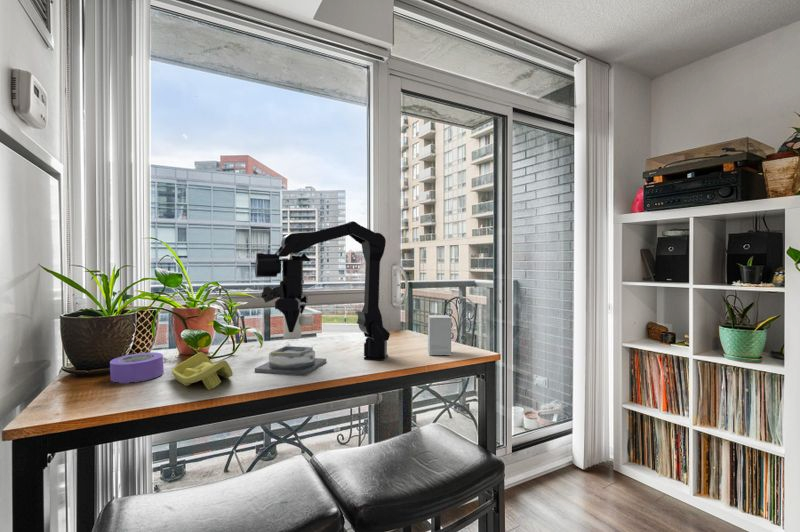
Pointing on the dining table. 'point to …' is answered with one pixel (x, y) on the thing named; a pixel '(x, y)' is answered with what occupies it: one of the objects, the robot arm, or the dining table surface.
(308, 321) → the elbow fitting
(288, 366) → the duct stub
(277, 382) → the dining table surface
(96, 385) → the dining table surface
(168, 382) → the dining table surface
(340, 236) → the robot arm
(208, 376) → the plastic component
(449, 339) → the supplement box
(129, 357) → the tape roll
